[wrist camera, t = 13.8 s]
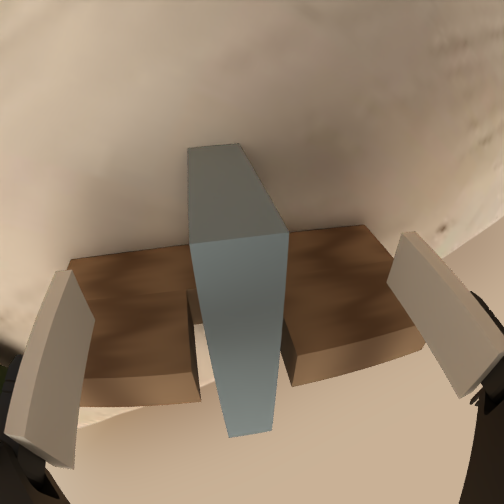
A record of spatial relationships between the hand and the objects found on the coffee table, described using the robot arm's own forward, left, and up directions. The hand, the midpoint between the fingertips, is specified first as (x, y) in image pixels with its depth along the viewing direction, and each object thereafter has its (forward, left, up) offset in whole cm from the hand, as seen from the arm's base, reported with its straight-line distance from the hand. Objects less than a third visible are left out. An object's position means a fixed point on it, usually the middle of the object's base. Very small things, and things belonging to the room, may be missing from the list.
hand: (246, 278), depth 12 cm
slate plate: (0, +5, -9) cm, 10 cm away
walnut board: (0, +6, -9) cm, 11 cm away
